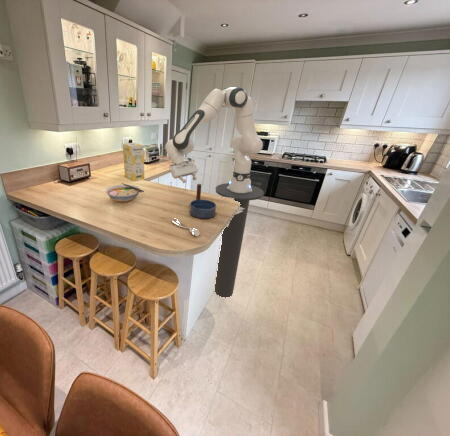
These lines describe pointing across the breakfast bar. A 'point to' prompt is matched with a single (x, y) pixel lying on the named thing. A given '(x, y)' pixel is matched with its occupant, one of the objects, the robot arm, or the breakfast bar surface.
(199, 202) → the mixing bowl
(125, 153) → the pasta box
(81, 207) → the breakfast bar surface
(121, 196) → the ramen bowl
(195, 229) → the silver metal spoon
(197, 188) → the muddler
